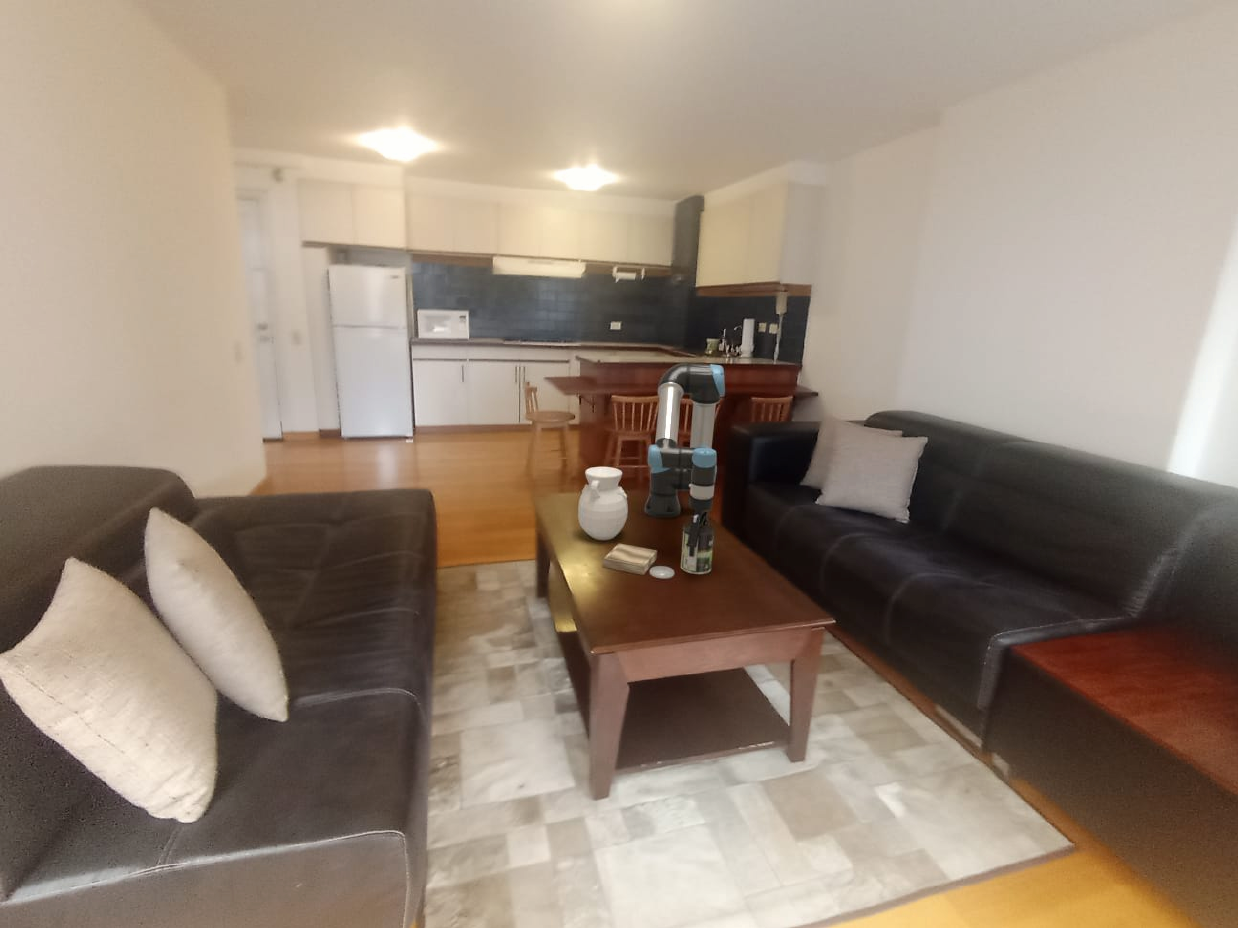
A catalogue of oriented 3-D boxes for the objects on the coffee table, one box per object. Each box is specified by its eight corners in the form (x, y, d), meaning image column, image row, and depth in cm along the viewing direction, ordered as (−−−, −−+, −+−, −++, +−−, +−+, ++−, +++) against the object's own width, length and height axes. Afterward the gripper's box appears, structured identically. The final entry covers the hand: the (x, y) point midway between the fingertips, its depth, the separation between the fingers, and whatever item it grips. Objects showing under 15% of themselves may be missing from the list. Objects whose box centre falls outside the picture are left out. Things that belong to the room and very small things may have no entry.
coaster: (653, 565, 192) (654, 564, 192) (677, 570, 190) (677, 568, 189) (646, 575, 185) (646, 573, 185) (670, 580, 182) (670, 578, 182)
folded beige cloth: (618, 551, 203) (618, 542, 202) (656, 558, 198) (657, 549, 197) (603, 566, 190) (603, 557, 189) (643, 575, 185) (643, 565, 185)
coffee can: (712, 563, 196) (715, 524, 193) (710, 576, 187) (714, 535, 183) (681, 559, 198) (684, 521, 195) (678, 572, 188) (681, 531, 185)
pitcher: (592, 523, 228) (593, 462, 222) (634, 532, 221) (637, 469, 214) (567, 538, 212) (569, 473, 206) (612, 549, 204) (615, 481, 198)
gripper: (699, 484, 198) (694, 541, 204) (679, 505, 176) (675, 569, 181) (720, 487, 196) (715, 545, 201) (704, 509, 173) (698, 574, 179)
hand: (696, 556), depth 191 cm, fingers open, 13 cm apart
